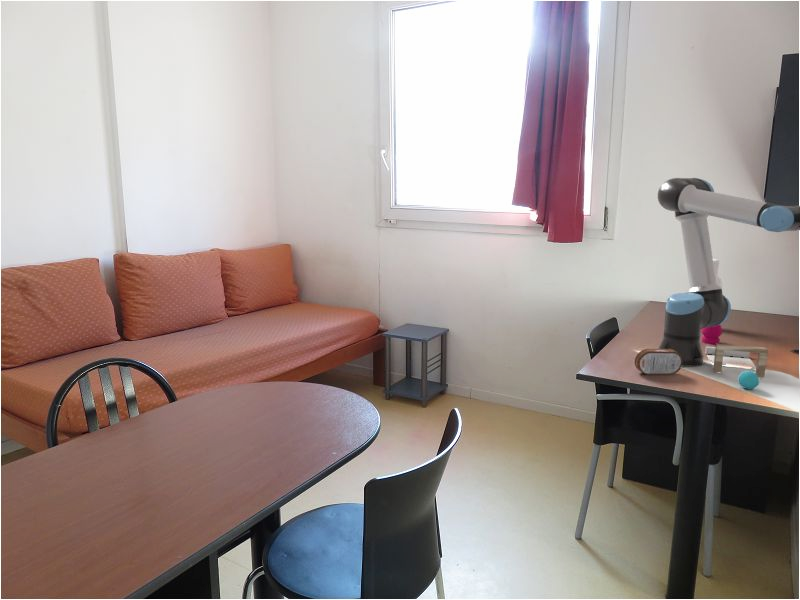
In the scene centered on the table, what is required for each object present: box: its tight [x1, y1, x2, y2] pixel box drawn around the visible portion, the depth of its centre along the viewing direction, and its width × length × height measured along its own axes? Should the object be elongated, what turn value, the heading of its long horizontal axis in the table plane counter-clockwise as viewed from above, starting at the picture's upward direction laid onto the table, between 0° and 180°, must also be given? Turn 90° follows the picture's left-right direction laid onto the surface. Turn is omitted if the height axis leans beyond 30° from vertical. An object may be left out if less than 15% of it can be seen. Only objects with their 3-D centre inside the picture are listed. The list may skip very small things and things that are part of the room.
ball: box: [737, 370, 760, 390], centre depth 185 cm, size 6×6×6 cm
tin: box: [634, 348, 683, 376], centre depth 199 cm, size 15×3×8 cm, turn 92°
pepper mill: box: [701, 324, 723, 345], centre depth 239 cm, size 7×7×20 cm
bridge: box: [712, 343, 769, 378], centre depth 200 cm, size 3×14×9 cm, turn 70°
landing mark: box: [706, 354, 757, 370], centre depth 213 cm, size 14×14×1 cm
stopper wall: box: [704, 345, 751, 359], centre depth 222 cm, size 14×2×2 cm, turn 70°
